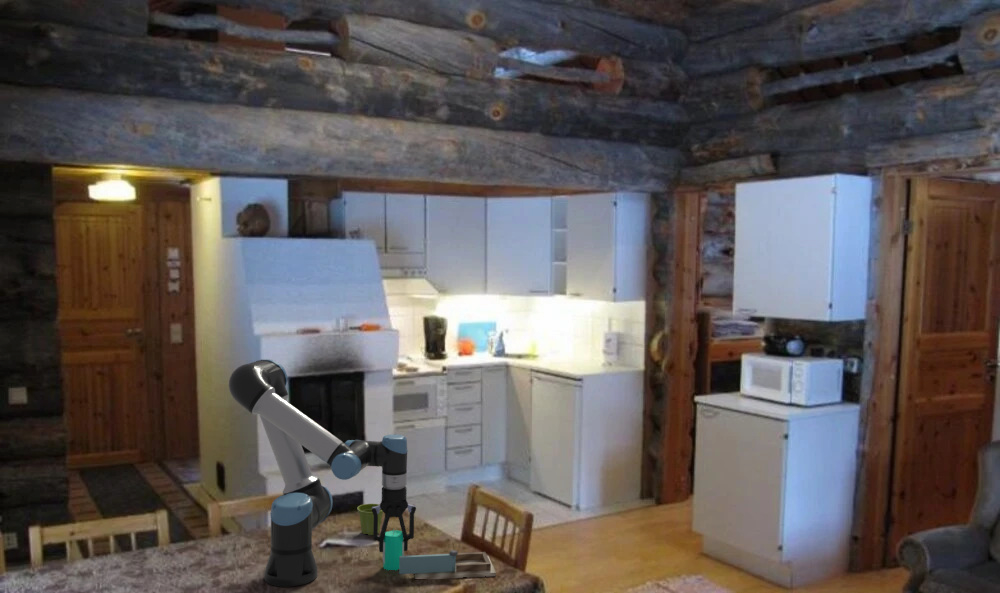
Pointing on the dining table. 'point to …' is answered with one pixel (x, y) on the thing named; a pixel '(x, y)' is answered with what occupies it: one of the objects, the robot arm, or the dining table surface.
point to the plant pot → (368, 518)
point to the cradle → (465, 567)
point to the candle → (393, 549)
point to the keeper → (428, 563)
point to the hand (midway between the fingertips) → (393, 561)
